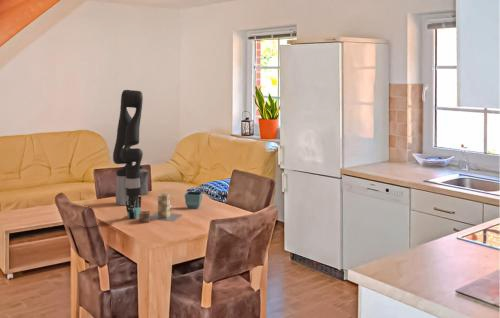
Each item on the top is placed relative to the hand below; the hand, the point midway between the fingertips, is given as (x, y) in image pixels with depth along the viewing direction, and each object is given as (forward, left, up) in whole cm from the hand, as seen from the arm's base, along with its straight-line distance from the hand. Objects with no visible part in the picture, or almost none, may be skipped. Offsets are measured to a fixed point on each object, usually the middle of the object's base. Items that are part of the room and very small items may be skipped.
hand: (134, 217), depth 290 cm
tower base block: (+15, +5, 0) cm, 16 cm away
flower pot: (+22, +31, -1) cm, 38 cm away
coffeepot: (-25, +59, -1) cm, 64 cm away
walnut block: (+9, -6, -1) cm, 11 cm away
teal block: (0, 0, -1) cm, 1 cm away
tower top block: (+15, +5, +6) cm, 17 cm away
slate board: (+15, +5, -1) cm, 16 cm away
